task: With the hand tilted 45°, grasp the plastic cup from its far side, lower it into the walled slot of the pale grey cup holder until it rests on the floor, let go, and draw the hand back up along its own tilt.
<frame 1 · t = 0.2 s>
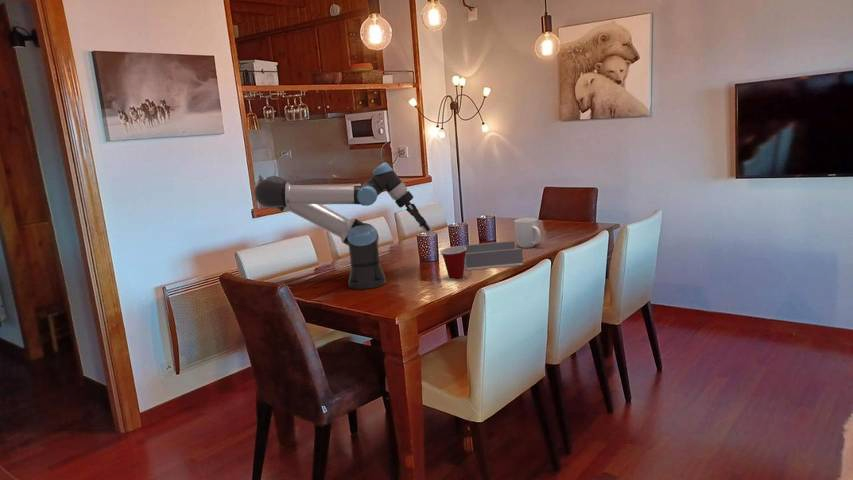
hand: (431, 235, 250), 16 cm above the table, tool tilted 35°, fingers open, 13 cm apart
mug: (528, 247, 284), on the table
plastic cup: (455, 277, 239), on the table
dock: (491, 262, 259), on the table
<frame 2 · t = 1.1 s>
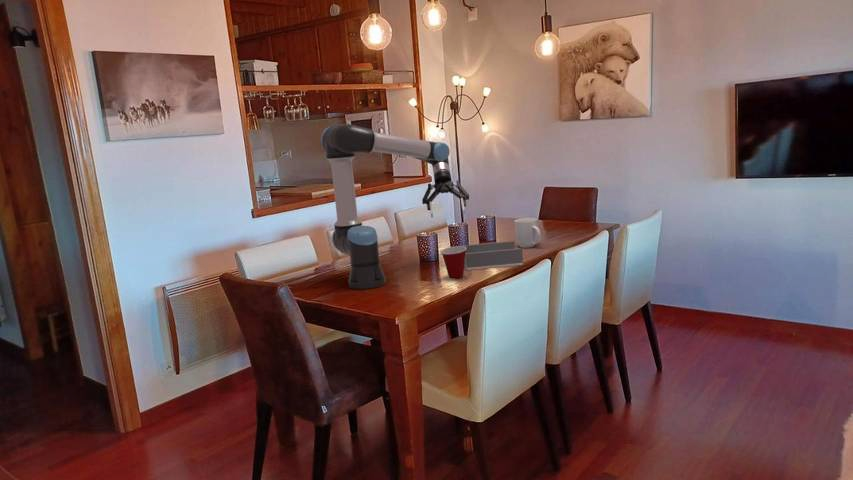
hand: (447, 213, 248), 24 cm above the table, tool tilted 45°, fingers open, 13 cm apart
nothing on the table moved.
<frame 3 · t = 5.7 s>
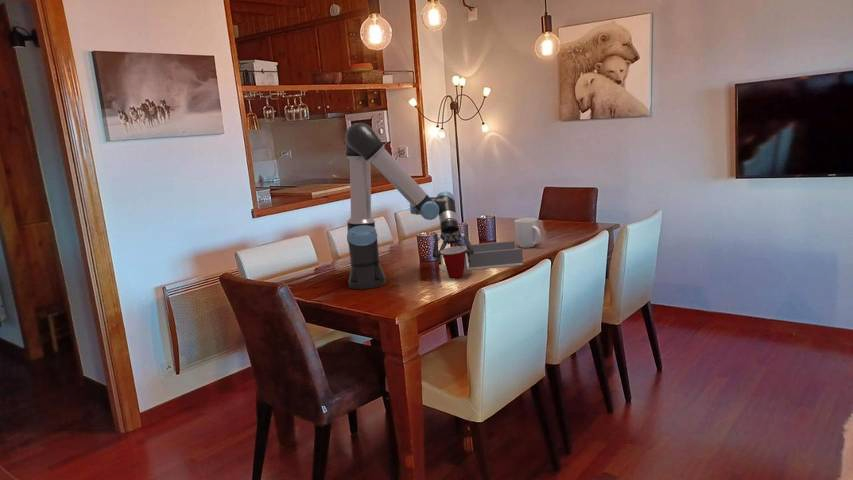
hand: (455, 269, 235), 4 cm above the table, tool tilted 45°, fingers closed on plastic cup, 9 cm apart
plastic cup: (455, 277, 239), on the table, touching gripper
everything else where it was.
when the fingers open (5 cm above the table, at t = 12.5 s): plastic cup moves 3 cm, resting on dock.
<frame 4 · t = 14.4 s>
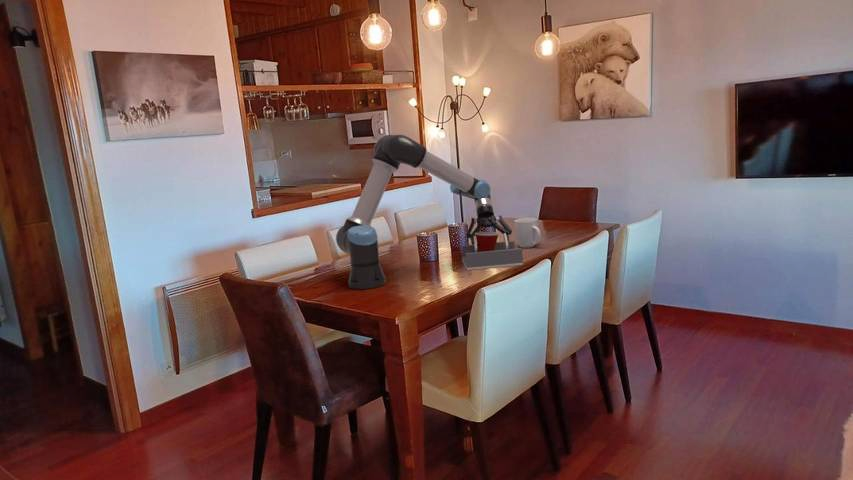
hand: (491, 248, 256), 7 cm above the table, tool tilted 45°, fingers open, 13 cm apart
plastic cup: (484, 259, 259), point 1 cm above the table, touching dock, gripper
everything else where it was.
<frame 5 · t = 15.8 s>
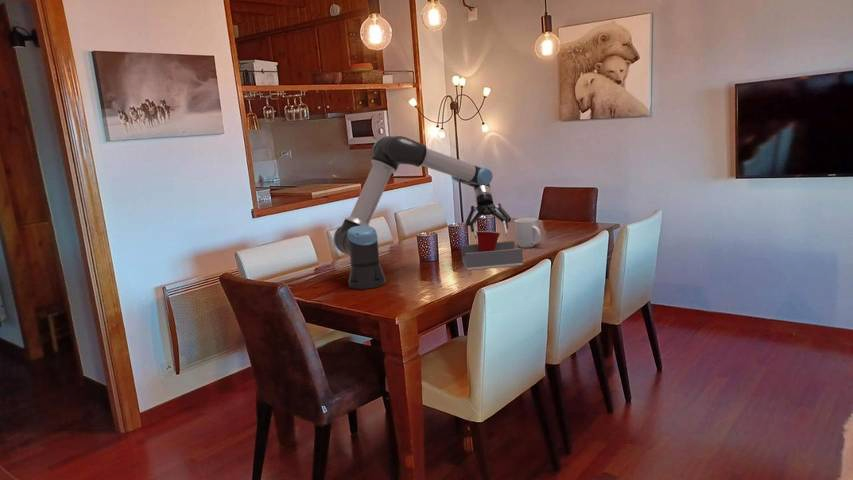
hand: (491, 235, 260), 11 cm above the table, tool tilted 45°, fingers open, 13 cm apart
plastic cup: (484, 258, 259), point 2 cm above the table, touching dock
everything else where it was.
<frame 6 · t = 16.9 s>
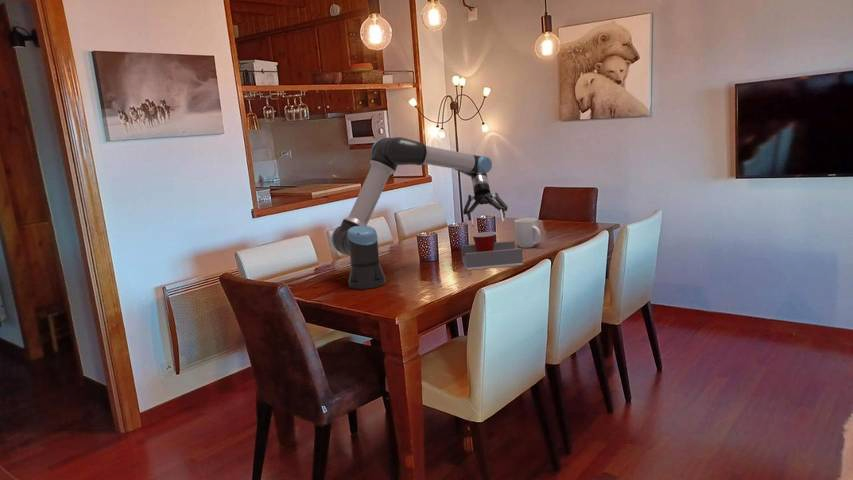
hand: (487, 224, 263), 16 cm above the table, tool tilted 45°, fingers open, 13 cm apart
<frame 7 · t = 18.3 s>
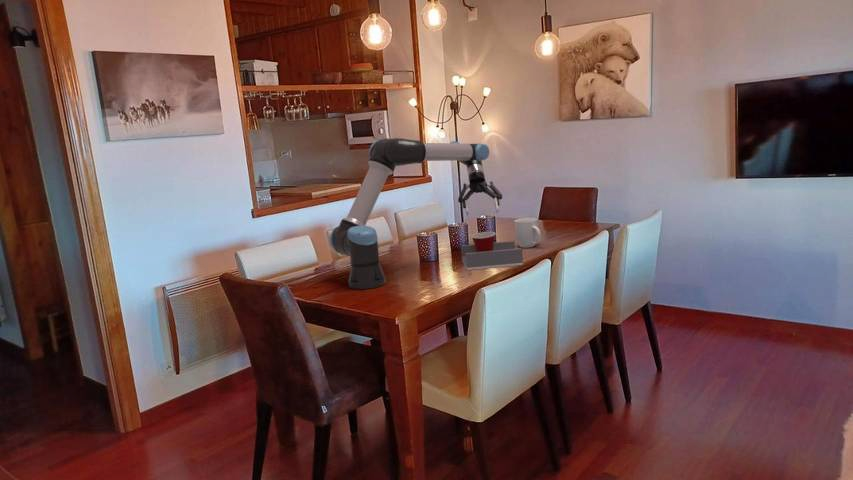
hand: (482, 212, 265), 21 cm above the table, tool tilted 45°, fingers open, 13 cm apart
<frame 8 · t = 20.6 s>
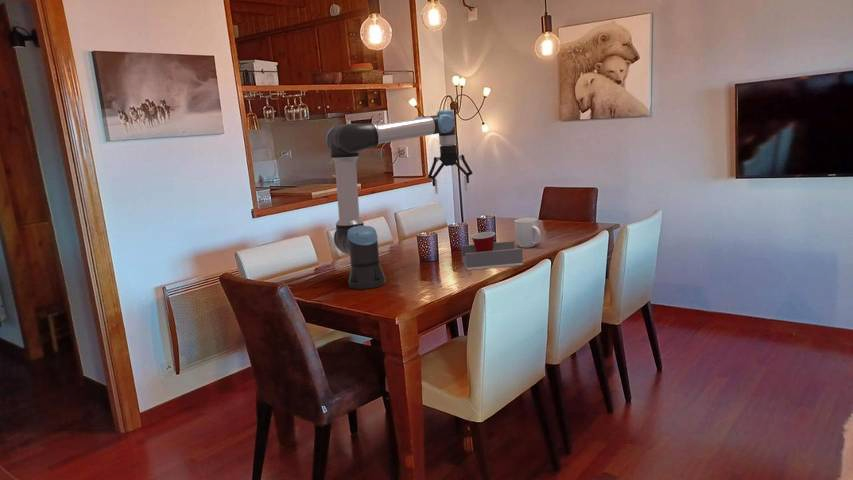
hand: (451, 191, 269), 31 cm above the table, tool pointing down, fingers open, 13 cm apart
at the end: plastic cup inside the target area on the dock (3.1 cm from its centre), point 0.8 cm above the dock's base; plastic cup tilted 0°; the gripper is holding nothing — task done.
